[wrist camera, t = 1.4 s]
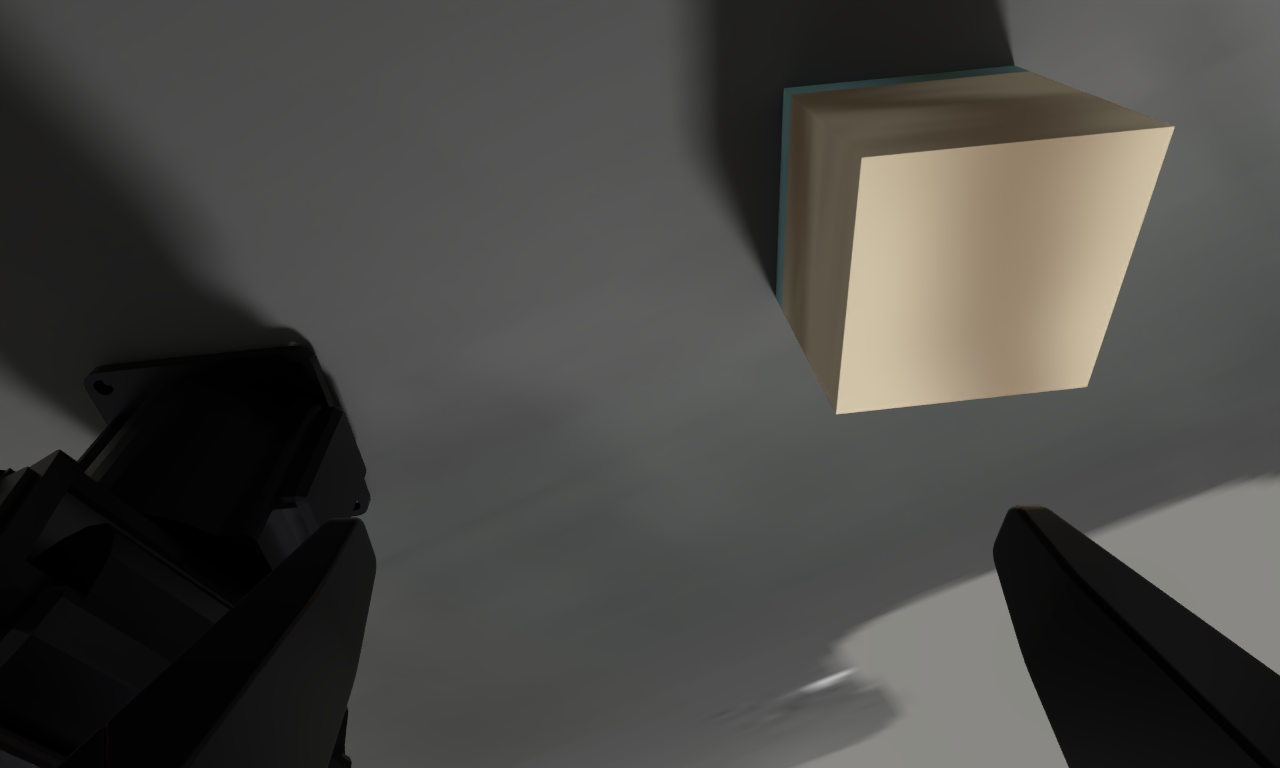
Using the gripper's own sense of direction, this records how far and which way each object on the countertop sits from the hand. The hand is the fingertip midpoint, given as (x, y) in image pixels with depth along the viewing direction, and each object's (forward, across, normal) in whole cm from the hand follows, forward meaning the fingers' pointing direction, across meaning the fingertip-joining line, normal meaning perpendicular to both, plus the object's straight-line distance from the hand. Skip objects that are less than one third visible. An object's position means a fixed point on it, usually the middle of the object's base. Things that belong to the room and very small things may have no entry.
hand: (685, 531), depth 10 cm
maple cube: (+12, -6, 0) cm, 14 cm away
